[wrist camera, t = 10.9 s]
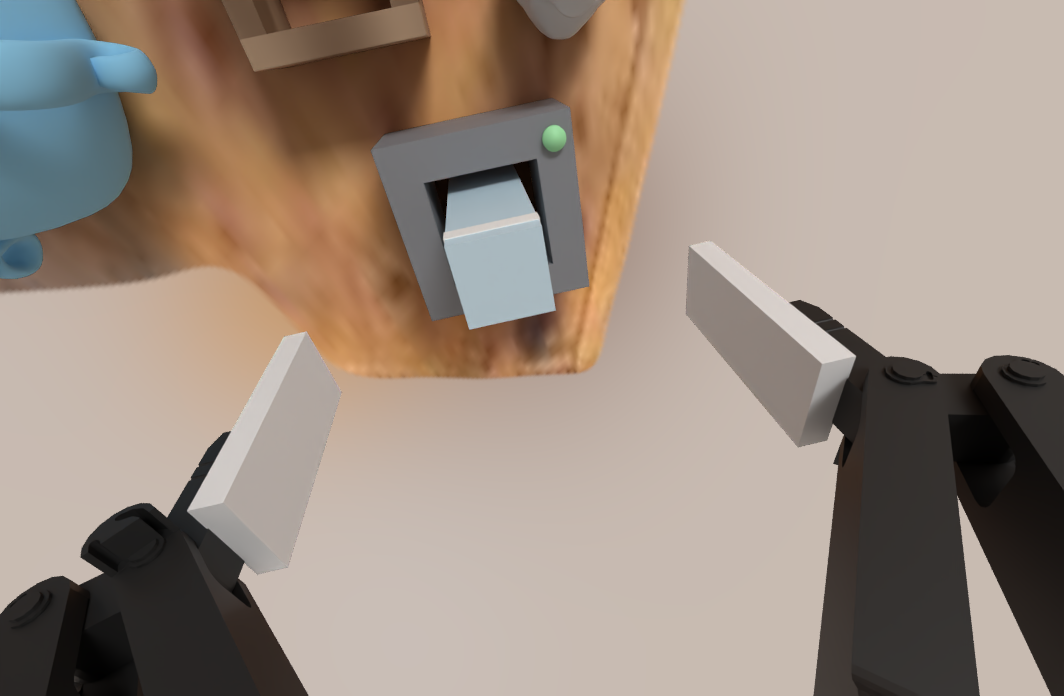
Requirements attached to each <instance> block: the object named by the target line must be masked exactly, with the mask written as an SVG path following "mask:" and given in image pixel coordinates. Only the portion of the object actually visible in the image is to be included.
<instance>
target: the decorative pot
mask: <svg viewBox="0 0 1064 696" xmlns="http://www.w3.org/2000/svg"><path fill="white" fill-rule="evenodd" d="M156 87H157V74H156V70H155V68H154V66H153V64H152V63H151V61H150V60H149V58H148V57H147V56H146V55H145V54H144V53H143V52H142V51H141V50H139V49H137V48H134V47H130V46H126V45H122V44H116V43H110V42H103V41H97V40H96V38H95V36H94V34H93V32H92V30H91V28H90V26H89V25H88V23H87V21H86V19H85V17H84V15H83V13H82V11H81V9H80V7H79V5H78V4H77V2H76V0H0V278H2V279H18V278H22V277H26V276H29V275H31V274H33V273H35V272H36V271H37V270H38V269H39V268H40V266H41V265H42V261H43V250H42V245H41V243H40V241H39V239H38V237H37V236H36V235H35V233H39V232H43V231H47V230H51V229H54V228H58V227H61V226H63V225H66V224H69V223H71V222H74V221H77V220H79V219H82V218H85V217H87V216H90V215H92V214H94V213H96V212H98V211H99V210H101V209H103V208H105V207H107V206H108V205H109V204H110V203H111V202H113V201H114V200H115V199H116V198H117V197H118V196H119V195H120V193H121V192H122V190H123V189H124V187H125V185H126V184H127V182H128V180H129V177H130V173H131V169H132V144H131V139H130V134H129V129H128V124H127V120H126V116H125V113H124V110H123V107H122V103H121V100H120V97H119V94H118V92H133V93H145V94H151V93H153V92H154V91H155V90H156Z"/></svg>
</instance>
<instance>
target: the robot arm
mask: <svg viewBox="0 0 1064 696" xmlns="http://www.w3.org/2000/svg"><path fill="white" fill-rule="evenodd" d="M686 314H687V316H688V317H689V318H690V319H691V320H692V322H693V323H694V324H695V325H696V326H697V327H698V329H699V330H700V331H701V332H702V334H703V335H704V336H705V337H706V338H707V340H708V341H709V342H710V343H711V344H712V346H714V348H715V349H716V350H717V351H718V353H719V354H720V355H721V356H722V357H723V358H724V360H725V361H726V362H727V363H728V365H730V367H731V368H732V369H733V371H734V372H735V373H736V374H737V375H738V376H739V378H740V379H741V380H742V381H743V382H744V384H745V385H746V386H747V387H748V388H749V389H750V391H751V392H752V393H753V394H754V395H755V397H756V398H757V399H758V400H759V401H760V403H761V404H762V405H763V406H764V407H765V409H766V410H767V411H768V412H769V413H770V415H771V416H772V417H773V418H774V419H775V420H776V422H777V423H778V424H779V425H780V426H781V428H782V429H783V430H784V431H785V432H786V434H787V435H788V436H789V437H790V438H791V440H792V441H793V442H794V443H795V444H796V445H797V447H801V446H805V445H810V444H814V443H818V442H822V441H826V440H827V439H828V436H829V433H830V430H831V427H832V424H834V425H835V426H836V427H837V428H838V429H839V430H840V431H841V432H842V433H843V434H844V436H843V439H842V442H841V444H840V447H839V450H838V452H837V455H836V458H835V460H834V463H833V464H836V465H838V473H837V483H836V492H835V501H834V510H833V519H832V529H831V538H830V547H829V557H828V566H827V576H826V585H825V594H824V603H823V613H822V623H821V631H820V640H819V650H818V660H817V669H816V679H815V688H814V696H980V695H979V686H978V677H977V668H976V659H975V651H974V643H973V642H974V641H973V632H972V624H971V615H970V607H969V597H968V588H967V579H966V571H965V561H964V553H963V544H962V535H961V526H960V517H959V508H958V499H957V496H958V498H959V500H960V502H961V504H962V506H963V509H964V511H965V513H966V515H967V517H968V519H969V521H970V523H971V525H972V527H973V530H974V532H975V534H976V536H977V538H978V540H979V542H980V545H981V547H982V549H983V551H984V553H985V555H986V557H987V560H988V562H989V564H990V566H991V568H992V570H993V572H994V575H995V577H996V578H997V581H998V583H999V585H1000V587H1001V589H1002V591H1003V593H1004V596H1005V598H1006V600H1007V602H1008V604H1009V606H1010V608H1011V611H1012V613H1013V615H1014V617H1015V619H1016V621H1017V623H1018V626H1019V628H1020V630H1021V632H1022V634H1023V636H1024V638H1025V640H1026V643H1027V645H1028V647H1029V649H1030V651H1031V653H1032V655H1033V657H1034V660H1035V662H1036V664H1037V666H1038V668H1039V670H1040V672H1041V675H1042V676H1043V679H1044V681H1045V683H1046V685H1047V687H1048V689H1049V691H1050V694H1051V696H1064V375H1063V374H1061V373H1060V372H1059V371H1057V370H1056V369H1054V368H1052V367H1050V366H1048V365H1046V364H1044V363H1042V362H1039V361H1036V360H1032V359H1029V358H1025V357H1017V356H1010V355H1005V356H1004V355H1003V356H993V357H990V358H988V359H985V360H984V362H983V363H982V365H981V366H980V368H979V370H978V371H977V373H976V374H939V373H938V372H937V371H936V370H934V369H933V368H932V367H930V366H928V365H926V364H924V363H922V362H920V361H917V360H912V359H909V358H904V357H885V356H883V355H882V354H881V353H880V352H878V351H877V350H876V349H874V348H873V347H872V346H870V345H869V344H868V343H866V342H865V341H863V340H862V339H861V338H859V337H858V336H857V335H855V334H854V333H853V332H851V331H850V330H849V329H847V328H844V326H843V325H842V324H840V323H839V322H838V321H837V320H833V318H832V317H831V316H830V315H829V314H827V313H826V312H824V311H823V310H822V309H820V308H819V307H817V306H814V305H812V304H809V303H806V302H804V301H801V300H798V301H793V302H787V301H786V300H785V299H784V298H782V297H781V296H780V295H779V294H777V293H776V292H775V291H774V290H772V289H771V288H770V287H769V286H767V285H766V284H765V283H764V282H762V281H761V280H760V279H758V278H757V277H756V276H755V275H753V274H752V273H751V272H750V271H748V270H747V269H746V268H745V267H743V266H742V265H741V264H740V263H738V262H737V261H736V260H735V259H733V258H732V257H731V256H729V255H728V254H727V253H726V252H724V251H723V250H722V249H721V248H719V247H718V246H717V245H716V244H714V243H713V242H712V241H707V242H703V243H698V244H694V245H690V246H689V256H688V277H687V299H686ZM341 393H342V392H341V390H340V388H339V386H338V385H337V383H336V381H335V380H334V378H333V376H332V374H331V373H330V371H329V369H328V367H327V366H326V364H325V362H324V361H323V359H322V357H321V355H320V354H319V352H318V350H317V349H316V347H315V345H314V343H313V342H312V340H311V338H310V336H309V335H308V333H307V332H302V333H298V334H294V335H289V336H284V337H283V339H282V341H281V343H280V345H279V346H278V348H277V350H276V352H275V354H274V355H273V357H272V359H271V361H270V363H269V364H268V366H267V368H266V370H265V372H264V374H263V375H262V377H261V379H260V381H259V382H258V384H257V386H256V388H255V390H254V391H253V393H252V395H251V397H250V399H249V400H248V402H247V404H246V406H245V408H244V409H243V411H242V413H241V415H240V417H239V418H238V421H237V422H236V424H235V426H234V427H233V429H232V431H229V432H225V433H223V434H222V435H221V436H220V437H219V438H218V439H217V440H216V441H215V442H214V443H213V444H212V445H211V446H210V447H209V448H208V449H207V451H206V453H205V454H204V456H203V458H202V459H201V461H200V463H199V467H197V468H196V470H195V471H194V473H193V475H192V476H191V480H190V481H189V482H188V483H187V485H186V487H185V488H184V490H183V492H182V493H181V495H180V497H179V499H178V500H177V502H176V504H175V505H174V507H173V509H172V510H171V512H170V514H169V515H168V517H165V516H164V515H163V514H162V513H161V512H160V511H158V510H157V509H156V508H155V507H153V506H152V505H151V504H150V503H140V504H136V505H133V506H130V507H127V508H125V509H123V510H121V511H120V512H118V513H116V514H114V515H113V516H111V517H110V518H109V519H107V520H106V521H105V522H103V523H102V524H101V525H100V526H99V527H98V528H97V529H96V530H95V531H94V532H93V533H92V534H91V535H90V536H89V537H88V539H87V540H86V542H85V544H84V545H83V547H82V550H81V558H82V559H84V560H86V561H87V562H88V563H90V564H92V565H93V566H94V567H96V568H98V569H99V570H101V571H102V572H104V573H103V574H101V575H99V576H97V577H95V578H93V579H91V580H89V581H87V582H85V583H82V584H80V585H77V584H76V583H74V582H73V581H71V580H69V579H68V578H66V577H64V576H59V577H51V578H49V579H47V580H44V581H42V582H40V583H37V584H36V585H35V586H33V587H31V588H30V589H28V590H27V591H25V592H23V593H22V594H21V595H19V596H18V597H17V598H16V599H14V600H13V601H12V602H11V603H10V604H9V605H8V606H7V607H6V608H5V609H4V611H3V612H2V613H1V614H0V696H308V694H307V692H306V690H305V688H304V687H303V685H302V683H301V681H300V680H299V678H298V676H297V674H296V673H295V671H294V669H293V667H292V666H291V664H290V662H289V660H288V659H287V657H286V655H285V654H284V652H283V650H282V648H281V646H280V644H279V643H278V641H277V639H276V637H275V636H274V634H273V632H272V630H271V629H270V627H269V625H268V623H267V622H266V620H265V618H264V616H263V615H262V613H261V611H260V609H259V607H258V606H257V604H256V602H255V600H254V599H253V597H252V595H251V593H250V592H249V590H248V588H247V587H246V585H245V584H244V583H243V582H242V581H241V580H240V579H238V577H239V574H240V572H241V569H242V566H243V564H244V563H245V564H246V565H247V566H249V567H250V568H251V569H252V570H253V571H254V572H255V573H256V574H262V573H266V572H270V571H275V570H279V569H283V568H287V567H288V565H289V562H290V559H291V556H292V552H293V549H294V546H295V542H296V539H297V536H298V533H299V529H300V526H301V523H302V520H303V517H304V513H305V510H306V507H307V504H308V500H309V497H310V494H311V491H312V487H313V484H314V481H315V478H316V474H317V471H318V468H319V465H320V461H321V458H322V455H323V451H324V448H325V445H326V442H327V438H328V435H329V432H330V428H331V425H332V422H333V419H334V416H335V412H336V409H337V406H338V402H339V399H340V396H341Z"/></svg>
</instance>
